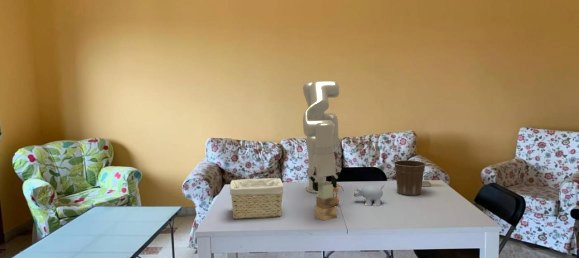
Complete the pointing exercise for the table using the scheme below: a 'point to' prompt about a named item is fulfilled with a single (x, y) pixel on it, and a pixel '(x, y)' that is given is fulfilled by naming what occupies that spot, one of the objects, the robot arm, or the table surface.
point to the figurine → (336, 194)
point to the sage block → (325, 190)
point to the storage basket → (256, 197)
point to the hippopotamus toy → (370, 194)
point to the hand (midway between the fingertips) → (324, 188)
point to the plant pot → (409, 176)
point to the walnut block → (325, 203)
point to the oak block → (326, 213)
